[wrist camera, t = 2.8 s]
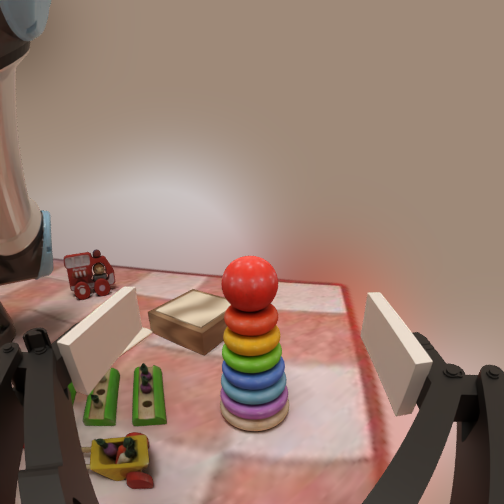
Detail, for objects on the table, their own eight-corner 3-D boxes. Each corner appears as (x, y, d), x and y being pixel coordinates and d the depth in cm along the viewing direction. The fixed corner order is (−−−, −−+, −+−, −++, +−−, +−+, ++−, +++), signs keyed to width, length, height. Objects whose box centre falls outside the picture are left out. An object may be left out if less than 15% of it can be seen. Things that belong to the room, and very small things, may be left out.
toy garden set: (162, 374, 36) (157, 349, 35) (177, 489, 19) (167, 467, 18) (27, 376, 30) (16, 352, 29) (-9, 468, 12) (-30, 443, 11)
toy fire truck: (118, 293, 62) (112, 250, 59) (70, 302, 55) (61, 259, 52) (114, 284, 68) (109, 244, 65) (70, 292, 61) (63, 252, 58)
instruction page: (77, 335, 43) (76, 333, 43) (109, 316, 51) (109, 314, 51) (119, 356, 38) (118, 355, 38) (153, 331, 46) (153, 330, 46)
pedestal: (151, 332, 46) (147, 310, 45) (194, 307, 56) (192, 288, 55) (204, 355, 41) (202, 331, 40) (245, 322, 51) (245, 301, 50)
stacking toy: (274, 383, 35) (279, 243, 30) (298, 424, 27) (317, 266, 22) (214, 394, 32) (203, 249, 27) (230, 440, 25) (218, 277, 20)
